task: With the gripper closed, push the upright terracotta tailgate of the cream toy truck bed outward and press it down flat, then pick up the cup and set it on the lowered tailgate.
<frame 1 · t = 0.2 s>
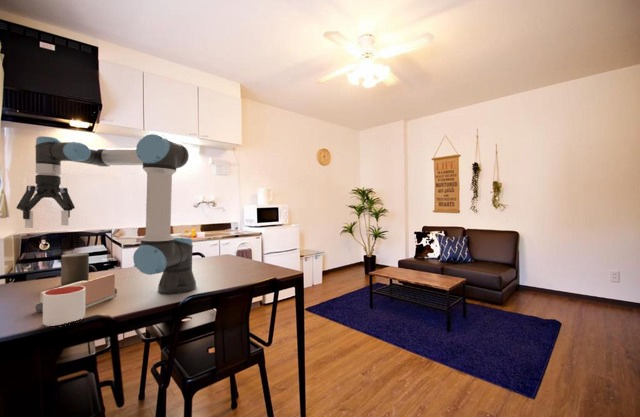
hand: (47, 226, 117), 28 cm above the table, fingers open, 13 cm apart
truck bed: (80, 302, 107), on the table
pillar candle: (75, 284, 131), on the table
tailgate: (98, 289, 106), point 5 cm above the table, hinge at 0.0°
cup: (64, 322, 90), on the table
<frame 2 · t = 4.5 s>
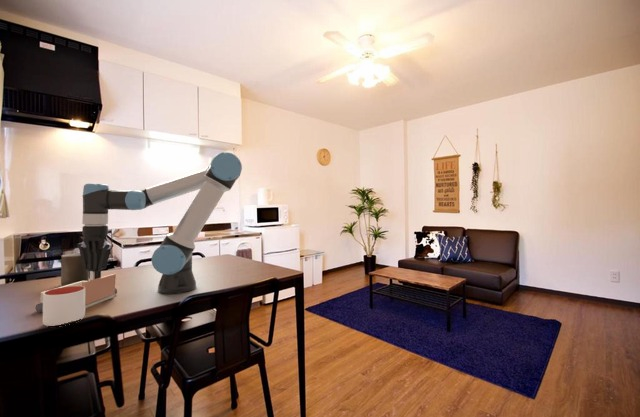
hand: (94, 287, 107), 6 cm above the table, fingers closed
tailgate: (99, 289, 106), point 5 cm above the table, hinge at 3.4°, touching gripper
everything else where it was.
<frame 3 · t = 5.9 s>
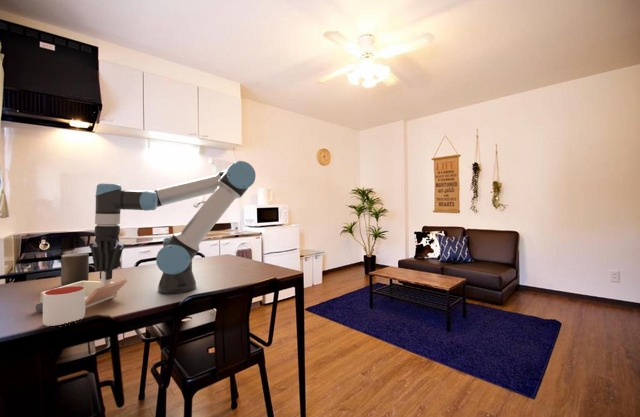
hand: (105, 287, 106), 6 cm above the table, fingers closed
tailgate: (105, 292, 106), point 4 cm above the table, hinge at 44.3°, touching gripper
everything else where it was.
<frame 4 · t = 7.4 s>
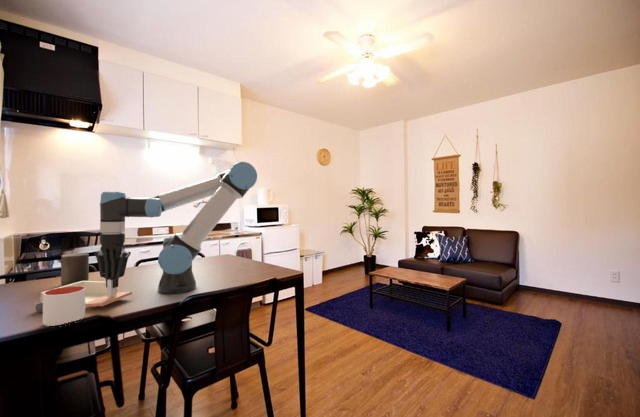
hand: (112, 296, 106), 3 cm above the table, fingers closed
tailgate: (108, 298, 106), point 2 cm above the table, hinge at 84.5°
everything else where it was.
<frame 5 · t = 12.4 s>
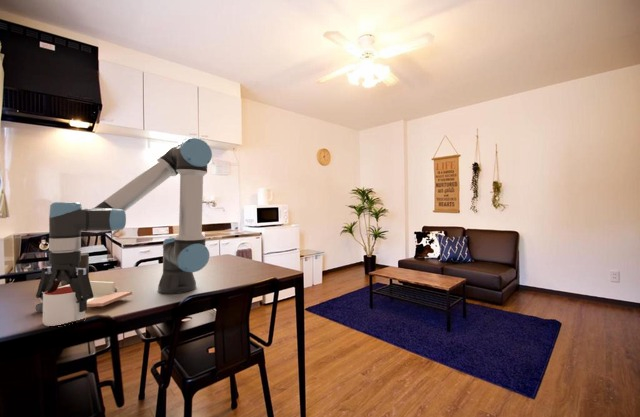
hand: (64, 320, 90), 0 cm above the table, fingers closed on cup, 10 cm apart
cup: (64, 322, 90), on the table, touching gripper
everything else where it was.
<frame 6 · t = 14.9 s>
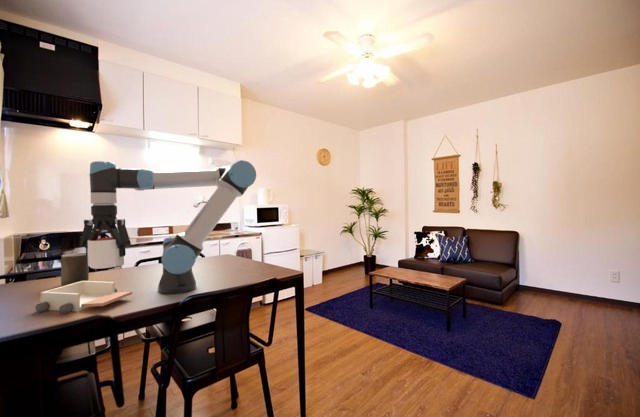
hand: (106, 265, 104), 15 cm above the table, fingers closed on cup, 10 cm apart
cup: (106, 266, 104), point 15 cm above the table, touching gripper
everything else where it was.
when the fingers open (4 cm above the table, at t = 17.5 s): cup drops 1 cm, resting on tailgate.
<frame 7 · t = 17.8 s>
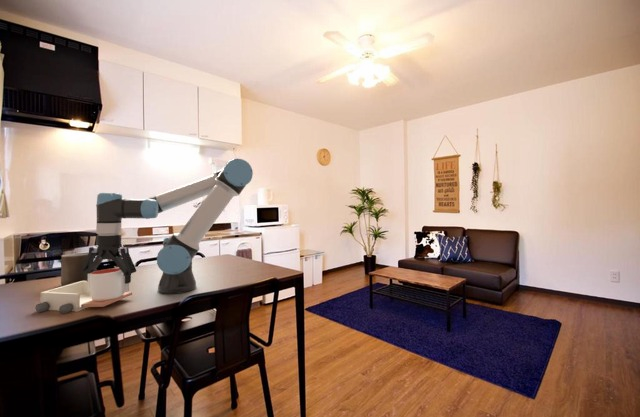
hand: (108, 291, 106), 5 cm above the table, fingers open, 13 cm apart
tailgate: (108, 299, 106), point 2 cm above the table, hinge at 86.4°, touching cup
cup: (108, 298, 106), point 2 cm above the table, touching tailgate
everything else where it was.
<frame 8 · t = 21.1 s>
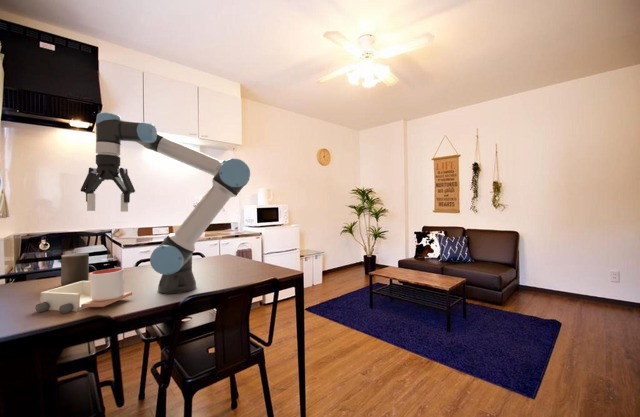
hand: (107, 211, 108), 35 cm above the table, fingers open, 13 cm apart
nothing on the table moved.
at the end: tailgate at +86° (first picture: +0°); cup inside the target area (1.8 cm from its centre), point 2.2 cm above the table; cup tilted 4° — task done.
